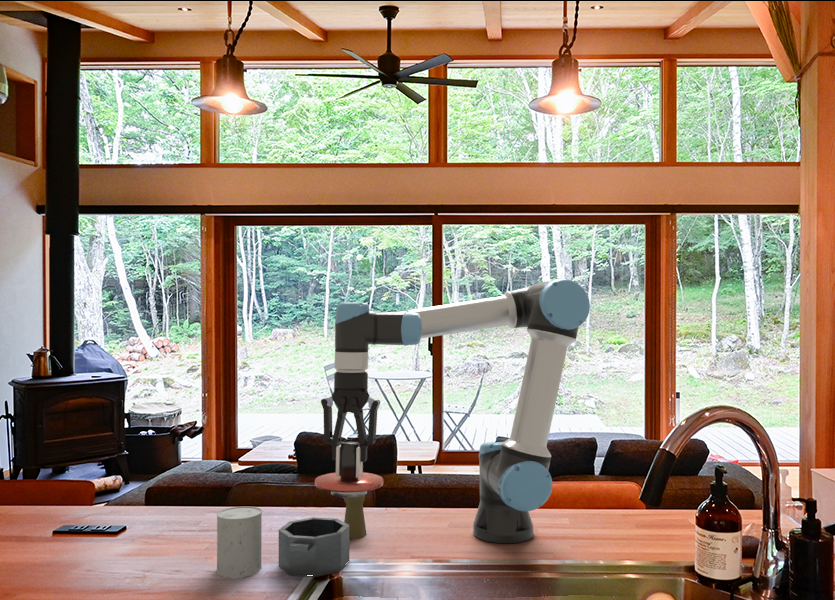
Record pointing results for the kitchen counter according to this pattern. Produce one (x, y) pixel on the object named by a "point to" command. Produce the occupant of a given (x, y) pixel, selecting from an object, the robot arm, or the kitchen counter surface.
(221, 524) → the grey concrete cylinder
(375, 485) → the lid
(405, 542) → the kitchen counter surface
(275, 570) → the kitchen counter surface
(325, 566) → the pot
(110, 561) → the kitchen counter surface
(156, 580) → the kitchen counter surface
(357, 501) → the olive pepper mill
